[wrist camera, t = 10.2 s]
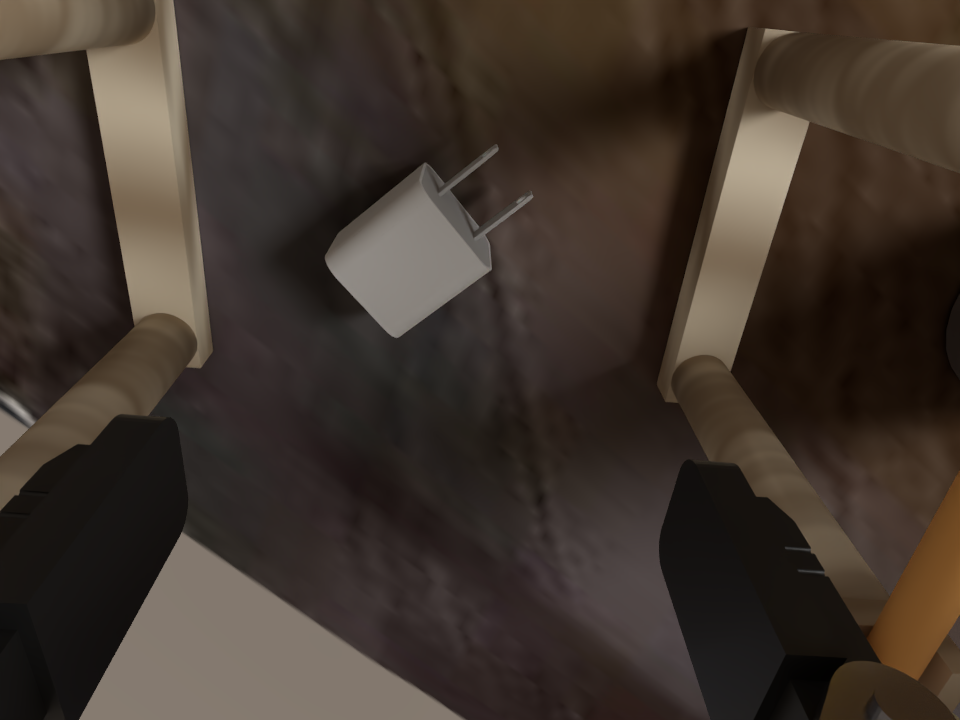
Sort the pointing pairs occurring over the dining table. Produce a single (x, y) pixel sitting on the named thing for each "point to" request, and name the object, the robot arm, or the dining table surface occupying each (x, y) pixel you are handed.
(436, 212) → the usb wall charger
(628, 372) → the dining table surface
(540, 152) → the dining table surface
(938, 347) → the dining table surface
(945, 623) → the orange wooden rod
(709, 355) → the wooden parallette bars
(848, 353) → the dining table surface
